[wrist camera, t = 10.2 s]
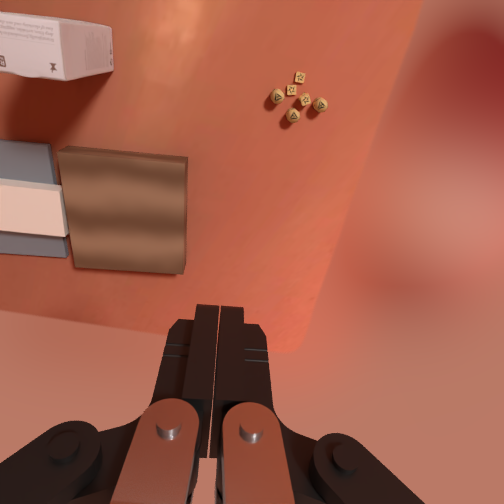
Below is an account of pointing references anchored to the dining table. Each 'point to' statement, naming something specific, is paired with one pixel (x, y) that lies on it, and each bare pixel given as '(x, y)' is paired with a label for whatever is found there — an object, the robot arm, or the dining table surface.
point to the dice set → (292, 113)
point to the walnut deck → (125, 209)
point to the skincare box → (53, 47)
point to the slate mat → (32, 170)
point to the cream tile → (32, 208)
